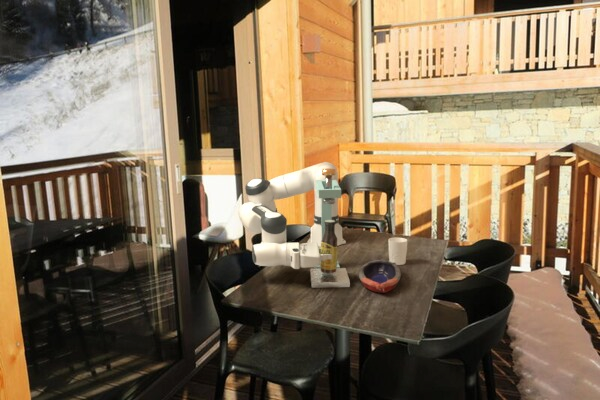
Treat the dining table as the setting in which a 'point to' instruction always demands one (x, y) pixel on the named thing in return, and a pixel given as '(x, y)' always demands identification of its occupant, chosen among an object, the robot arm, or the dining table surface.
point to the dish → (380, 275)
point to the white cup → (397, 250)
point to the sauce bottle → (329, 247)
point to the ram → (328, 183)
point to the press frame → (327, 208)
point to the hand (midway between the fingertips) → (331, 253)
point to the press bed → (329, 278)
